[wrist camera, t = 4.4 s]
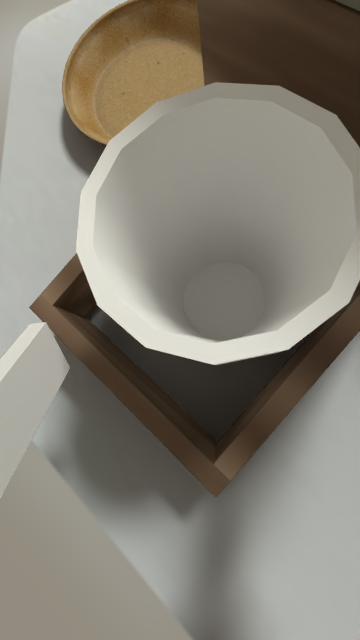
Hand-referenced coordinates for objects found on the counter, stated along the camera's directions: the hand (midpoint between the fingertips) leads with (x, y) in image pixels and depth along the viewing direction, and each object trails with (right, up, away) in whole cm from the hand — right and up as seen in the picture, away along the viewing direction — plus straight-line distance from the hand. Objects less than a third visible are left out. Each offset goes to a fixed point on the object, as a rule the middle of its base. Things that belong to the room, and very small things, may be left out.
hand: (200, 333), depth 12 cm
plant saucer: (-3, +21, +14) cm, 26 cm away
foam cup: (+2, +2, +10) cm, 10 cm away
